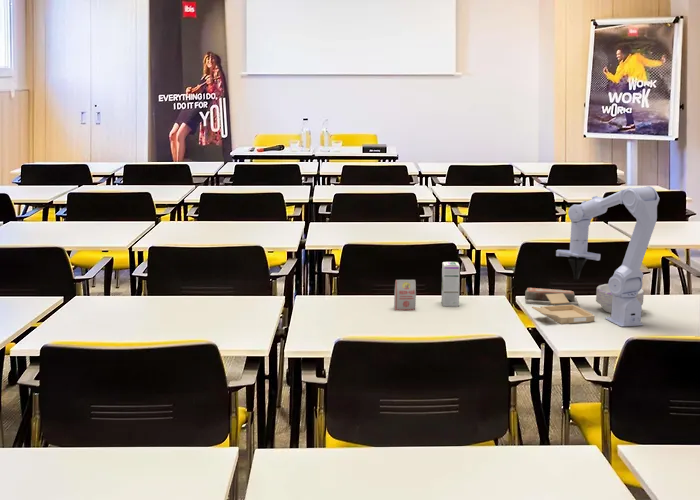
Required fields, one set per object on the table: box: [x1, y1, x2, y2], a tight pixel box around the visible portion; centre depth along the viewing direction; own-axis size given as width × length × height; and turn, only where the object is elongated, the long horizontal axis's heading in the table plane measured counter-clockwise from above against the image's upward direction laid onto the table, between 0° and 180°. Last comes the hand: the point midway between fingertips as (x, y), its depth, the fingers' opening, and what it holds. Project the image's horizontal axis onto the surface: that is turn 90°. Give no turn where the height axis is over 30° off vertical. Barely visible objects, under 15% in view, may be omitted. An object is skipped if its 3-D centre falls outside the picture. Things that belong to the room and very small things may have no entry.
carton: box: [539, 305, 596, 325], centre depth 278 cm, size 15×12×2 cm
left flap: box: [531, 306, 558, 317], centre depth 273 cm, size 8×1×5 cm
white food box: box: [393, 279, 417, 311], centre depth 285 cm, size 4×7×10 cm, turn 93°
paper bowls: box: [595, 283, 645, 314], centre depth 285 cm, size 15×15×8 cm
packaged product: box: [524, 287, 579, 307], centre depth 297 cm, size 18×5×10 cm
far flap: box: [546, 293, 569, 304], centre depth 287 cm, size 1×6×5 cm
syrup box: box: [441, 261, 461, 307], centre depth 291 cm, size 6×6×14 cm
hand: (576, 278), depth 289 cm, fingers closed
